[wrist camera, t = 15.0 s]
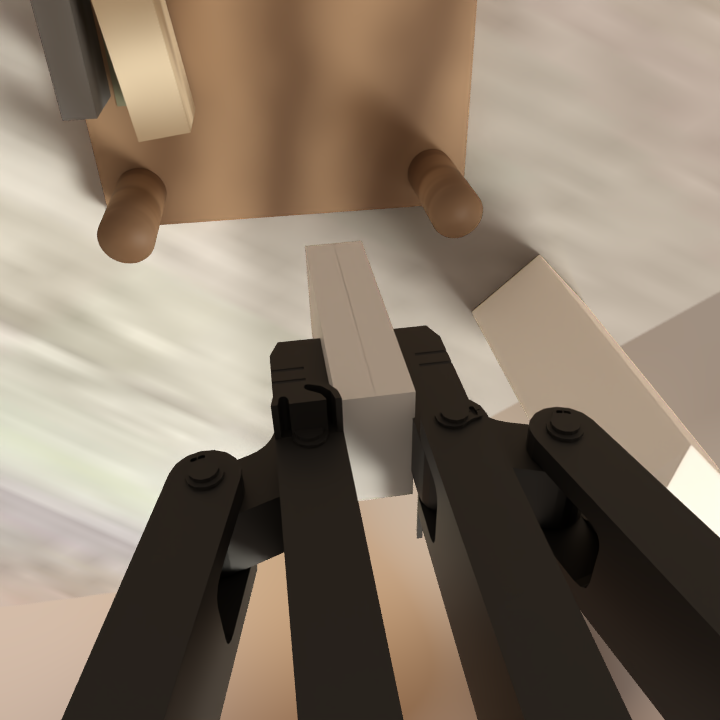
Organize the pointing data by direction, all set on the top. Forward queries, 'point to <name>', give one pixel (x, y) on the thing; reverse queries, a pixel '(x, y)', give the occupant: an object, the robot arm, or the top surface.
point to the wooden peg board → (279, 113)
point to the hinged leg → (147, 66)
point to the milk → (592, 381)
